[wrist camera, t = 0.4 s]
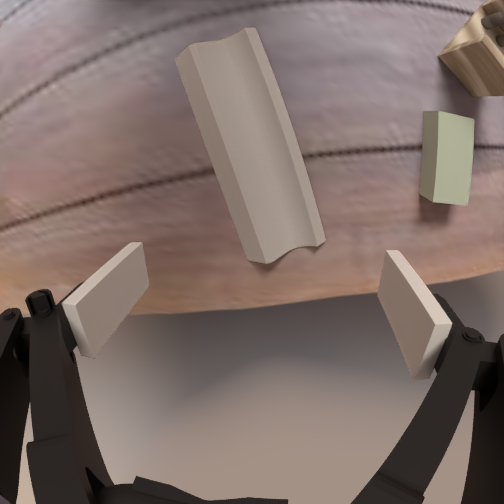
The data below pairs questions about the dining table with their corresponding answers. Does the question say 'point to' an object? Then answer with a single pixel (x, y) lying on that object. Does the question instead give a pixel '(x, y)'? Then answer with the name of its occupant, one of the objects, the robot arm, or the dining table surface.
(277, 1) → the dining table surface
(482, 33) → the frame
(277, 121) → the crown molding
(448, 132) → the pale green block
